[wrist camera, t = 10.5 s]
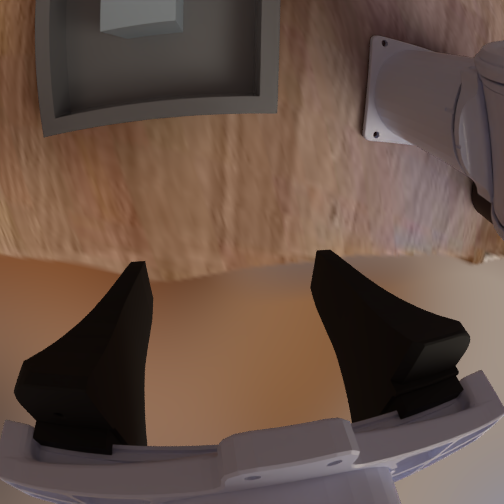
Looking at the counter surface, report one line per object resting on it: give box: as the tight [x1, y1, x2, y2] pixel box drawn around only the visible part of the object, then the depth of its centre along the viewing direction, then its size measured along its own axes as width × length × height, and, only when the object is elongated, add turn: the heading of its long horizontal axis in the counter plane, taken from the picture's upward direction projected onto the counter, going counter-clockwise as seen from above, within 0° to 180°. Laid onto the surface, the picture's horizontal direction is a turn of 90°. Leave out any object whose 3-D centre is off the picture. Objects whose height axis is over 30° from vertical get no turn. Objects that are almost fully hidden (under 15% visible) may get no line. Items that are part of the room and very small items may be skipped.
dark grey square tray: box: [35, 0, 280, 137], centre depth 13 cm, size 14×14×3 cm
